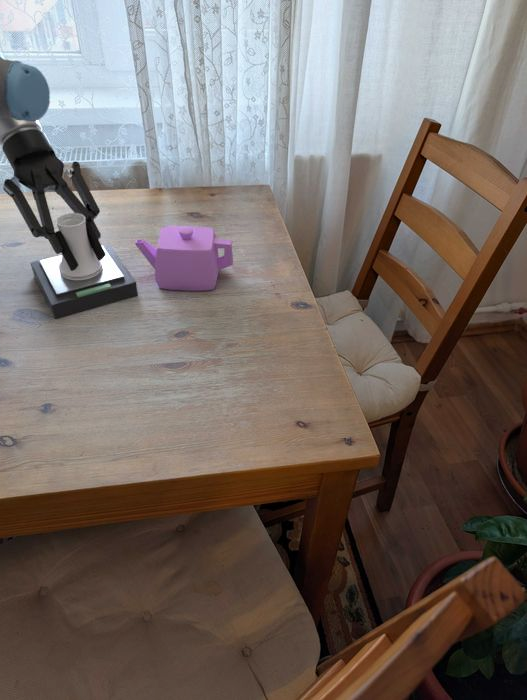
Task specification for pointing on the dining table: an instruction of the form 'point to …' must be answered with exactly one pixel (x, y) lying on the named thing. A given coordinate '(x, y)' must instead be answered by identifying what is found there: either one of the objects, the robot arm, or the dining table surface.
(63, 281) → the scale
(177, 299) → the dining table surface
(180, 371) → the dining table surface
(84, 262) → the vase
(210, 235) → the teapot
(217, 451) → the dining table surface
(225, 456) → the dining table surface
